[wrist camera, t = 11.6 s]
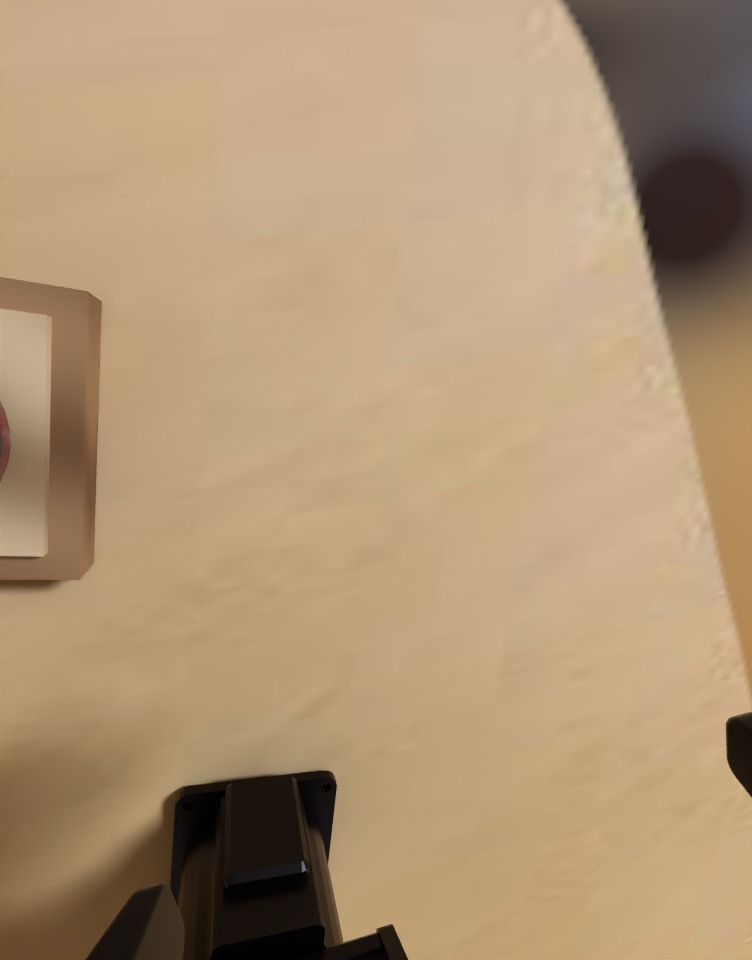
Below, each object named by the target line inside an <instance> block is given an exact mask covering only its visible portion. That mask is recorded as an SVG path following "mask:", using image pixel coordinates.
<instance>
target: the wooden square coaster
mask: <svg viewBox="0 0 752 960" xmlns="http://www.w3.org/2000/svg"><path fill="white" fill-rule="evenodd" d="M101 302H102V301H100V300H99V299H97V298H96V297H95V296H93V295H92V294H90V293H89V292H88V291H82V290H76V289H70V288H64V287H58V286H52V285H46V284H40V283H33V282H27V281H21V280H15V279H9V278H3V277H0V401H1V404H2V406H3V408H4V410H5V413H6V417H7V420H8V425H9V429H10V439H11V448H10V455H9V460H8V464H7V468H6V470H5V472H4V475H3V477H2V480H1V482H0V580H80V579H81V578H82V576H83V575H84V574H85V573H86V572H87V571H88V569H89V568H90V567H91V566H92V565H93V563H94V530H95V498H96V465H97V432H98V400H99V367H100V334H101Z"/></svg>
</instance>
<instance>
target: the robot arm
mask: <svg viewBox="0 0 752 960" xmlns="http://www.w3.org/2000/svg"><path fill="white" fill-rule="evenodd" d="M726 747H727V760H728V764H729V766H730V768H731V770H732V772H733V774H734V775H735V777H736V778H737V779H738V781H739V782H740V783H741V784H742V786H743V787H744V788H745V790H746V791H747V792H748V793H749V795H750V796H751V797H752V712H749V713H744V714H741V715H737V716H734V717H731V718H729V719H728V721H727V722H726ZM324 783H328V784H327V785H325V786H321V785H322V784H324ZM336 788H337V785H336V780H335V776H334V774H333V773H332V772H330V771H318V772H310V773H301V774H293V775H284V776H276V777H267V778H259V779H250V780H242V781H233V782H225V783H216V784H208V785H199V786H191V787H187V788H185V789H183V790H181V791H180V793H179V794H178V796H177V799H176V806H175V820H174V837H173V853H172V870H171V886H170V887H169V885H168V884H166V883H165V882H160V883H156V884H153V885H149V886H146V887H142V888H140V889H138V890H137V891H136V892H135V893H134V894H132V896H131V897H130V898H129V900H128V901H127V902H126V904H125V905H124V907H123V908H122V909H121V911H120V912H119V914H118V915H117V916H116V918H115V919H114V920H113V922H112V923H111V925H110V926H109V927H108V929H107V930H106V932H105V933H104V934H103V936H102V937H101V938H100V940H99V941H98V943H97V944H96V945H95V947H94V948H93V950H92V951H91V952H90V954H89V955H88V957H87V958H86V959H85V960H408V958H407V956H406V954H405V951H404V949H403V947H402V945H401V942H400V940H399V938H398V935H397V933H396V931H395V929H394V926H393V925H392V924H391V925H388V926H384V927H381V928H378V929H377V932H376V933H373V934H370V935H367V936H364V937H360V938H357V939H354V940H350V941H347V942H344V943H343V938H342V933H341V928H340V923H339V918H338V913H337V908H336V903H335V898H334V893H333V888H332V883H331V878H330V873H329V868H328V859H329V850H330V841H331V832H332V824H333V815H334V806H335V797H336ZM187 800H193V802H192V803H185V801H187Z"/></svg>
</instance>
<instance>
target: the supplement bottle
mask: <svg viewBox="0 0 752 960" xmlns="http://www.w3.org/2000/svg"><path fill="white" fill-rule="evenodd" d="M10 448H11V439H10V429H9V425H8V420H7V417H6V413H5V410H4V408H3V406H2V404H1V401H0V482H1V480H2V477H3V475H4V472H5V470H6V468H7V464H8V460H9V455H10Z"/></svg>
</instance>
